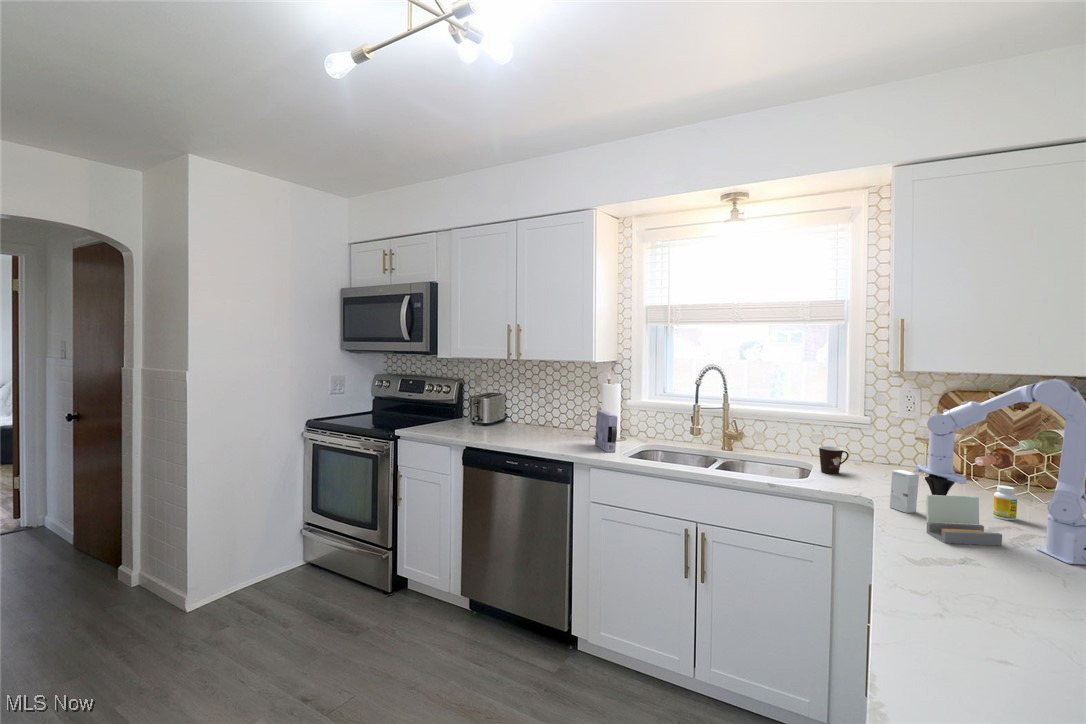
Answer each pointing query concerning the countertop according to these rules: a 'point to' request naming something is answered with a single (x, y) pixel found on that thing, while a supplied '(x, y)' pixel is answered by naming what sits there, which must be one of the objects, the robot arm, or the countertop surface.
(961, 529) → the tall wooden block
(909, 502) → the skincare box
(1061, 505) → the robot arm
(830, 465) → the coffee mug
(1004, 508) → the supplement bottle
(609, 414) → the cake pan box
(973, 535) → the grey open tray
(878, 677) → the countertop surface
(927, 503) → the cover
